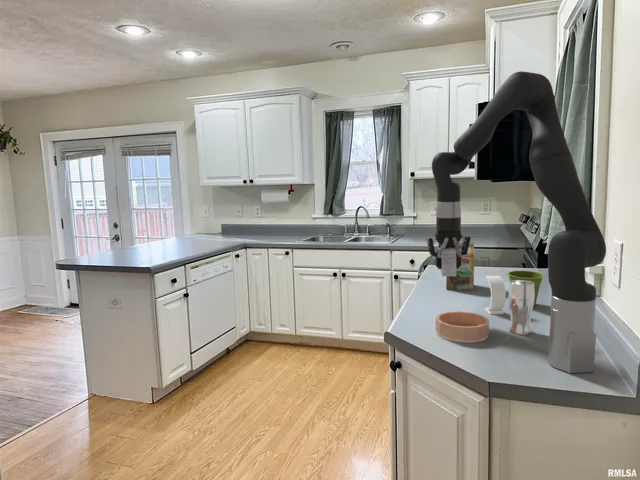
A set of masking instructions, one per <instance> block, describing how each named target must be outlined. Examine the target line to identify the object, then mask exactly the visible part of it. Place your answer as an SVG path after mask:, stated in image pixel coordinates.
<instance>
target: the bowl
mask: <svg viewBox="0 0 640 480" xmlns="http://www.w3.org/2000/svg"><path fill="white" fill-rule="evenodd" d="M435 332H436V334H437V336H438V337H440V339H443V340H446V341H450V342H454V343H460V344H461V343H463V344H475V343H479V342H483V341H485V340H487V339H488V337H489V332H490V319H488V318H487V317H485V316H484V315H480V314H477V313H474V312H466V311H446V312H442V313H439V314H438V315H436V317H435Z"/></svg>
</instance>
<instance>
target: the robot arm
mask: <svg viewBox="0 0 640 480" xmlns="http://www.w3.org/2000/svg"><path fill="white" fill-rule="evenodd" d="M514 110H516V111H525V113H526V115H527V118H528V121H529V125H530V127H531V131H532V132H531V133H532V134H531V135H532V137H531V138H532V139H531V144H530V146H529V147H530V148H529V155H528V161H529V166H530V169H531V173H532V175H533V180H534V182H535V184H536V187H537V188H538V189H539V191H540V193H542V195H543V196H544V197H545V198H546V200H547V201H548V202H550V204H551V205H552V206H553V207H554V208H555V210H556V211H557V212H558V214H559V216H560V217H561V219H562V222H563V224H564V228H565V230H563V231H560V232H557V233H555V234H554V235H553V236H552V238H551V239H550V242H549V246H548V250H547V251H548V252H547V263H548V264H547V266H548V267H547V271H548V272H547V273H548V275H547V278H548V283H549V286H550V288H551V297H550V298H551V301H550V319H549V338H548V339H549V341H548V343H549V344H548V363H549V365H550V366H551V367H553V368H556V369H557V370H561V371H563V372H566V373H568V374H580V373H581V374H582V373H594V372H595V361H596V360H595V359H596V358H595V357H596V340H597V333H595V332H594V330H595V317H596V303H597V302H596V298H597V288H596V287H595V286H594V285H593V284H592V283H589V282H587V281H586V269H587V268H592V267H596V266H598V265H600V264H601V263H603V261H604V260H605V258H606V254H607V246H606V241H605V239H604V235H603V234H602V231H601V229H600V228H599V224H598V223H597V221H596V219H595V216H594V214H593V212H592V210H591V208H590V205H589V203H588V200H587V198H586V195H585V192H584V190H583V187H582V186H583V185H582V184H581V182H580V179H579V175H578V172H577V168H576V165H575V162H574V159H573V156H572V153H571V151H570V148H569V145H568V143H567V140H566V136H565V133H564V130H563V126H562V125H561V122H560V121H561V120H560V117H559V114H558V109H557V103H556V100H555V93H554V90H553V86H552V83H551V82H550V79H549V78H547V77H546V76H545V75H543V74H541V73H536V72H530V71H523V70H522V71H517V72H514V73H511V75H509V76H508V77H507V78H506V79H505V80H504V82H503V83H502V84H501V85H500V87H499V88H498V90H497V91H496V93H495V94H494V95H493V97H492V98H491V99H490V101H489V102H488V103H487V104H486V106H485V107H484V109H483V111H482V112H481V113H480V114H479V115H478V117H477V118H476V120H475V121H474V122H473V123H472V124H471V125H470V126H469V127H468V128H467V129H466V130H465V131H464V132H463V133H462V134H461V135H460V136H459V137H458V138H457V139H456V141H454V144H453V150H454V151H453V152H451V151H450V152H448V151H446V152H445V151H443V152H441V151H440V152H438V153H436V154H435V155H434V156H433V159H432V161H431V171H432V175H433V179H434V183H435V187H436V191H437V192H436V197H437V198H436V209H435V210H436V211H435V216H436V217H435V219H436V221H435V223H436V224H435V227H436V229H435V230H436V232H435V235H434V236H428V237H426V242H427V246H428V247H427V248H428V251H429V254H430V256H432V257H435V267H436V268H437V269H438V270H441V269H442V258H441V255H442V249H445V248H448V247H451V248H455V249H456V268H459V267H460V266H461V256H463V255H466V254H467V252H468V248H469V243H470V242H471V236H469V235H463V234H462V232H461V230H462V226H461V225H462V206H461V186H460V184H459V183H457V182H454V181H453V180H452V177H451V176H453V175H458V174H461V173H462V172H464V171H465V170H466V169H467V168H468V167H469V165H470V163H471V162H472V159H473V158H474V157H475V156H476V154H477V153H479V152H480V151H481V150H482V149H484V148H485V146H486V145H488V144H489V142H490V141H491V139H492V137H493V135H494V132H495V130H496V128H497V126H498V124H499V123H500V122H501V120H503V119H504V118H505V117H506V116H508V115H509V114H510V113H511V112H513V111H514ZM435 241H436V242H437V243H438V245H437V248H436V249H435V245H434V244H435V243H436V242H435ZM459 242H463V244H462V249H461V251H460V247H459V245H458V243H459Z"/></svg>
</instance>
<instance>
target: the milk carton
mask: <svg viewBox="0 0 640 480" xmlns="http://www.w3.org/2000/svg"><path fill="white" fill-rule="evenodd" d="M462 244H463V242H462V241H459V243H458V245H459V247H460V251H461V249H462ZM474 282H475V243H474V242H471V241H470V243H469V248H468V252H467V254H466V255H463V256H461V266H460V267H459V268H456V277H455V276H446V282H445V283H446V284H445V285H446V286H445V288H446V290H447V291H465V292H466V291H467V292H474V289H475V288H474V285H475V284H474Z"/></svg>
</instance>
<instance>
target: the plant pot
mask: <svg viewBox="0 0 640 480" xmlns="http://www.w3.org/2000/svg"><path fill="white" fill-rule="evenodd" d="M507 276H508V277H509V282H510V281H512V280H526V281H531V282H533V283H534V293H535V297H534V305H533V307H535V306H536V305H537V300H538V295H539V292H540V291H539V290H540V286H541V284H542V280H543V278H544V277H545V274H543V273H542V272H539V271H533V270H532V271H531V270H523V269H522V270H511V271H508V272H507Z"/></svg>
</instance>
